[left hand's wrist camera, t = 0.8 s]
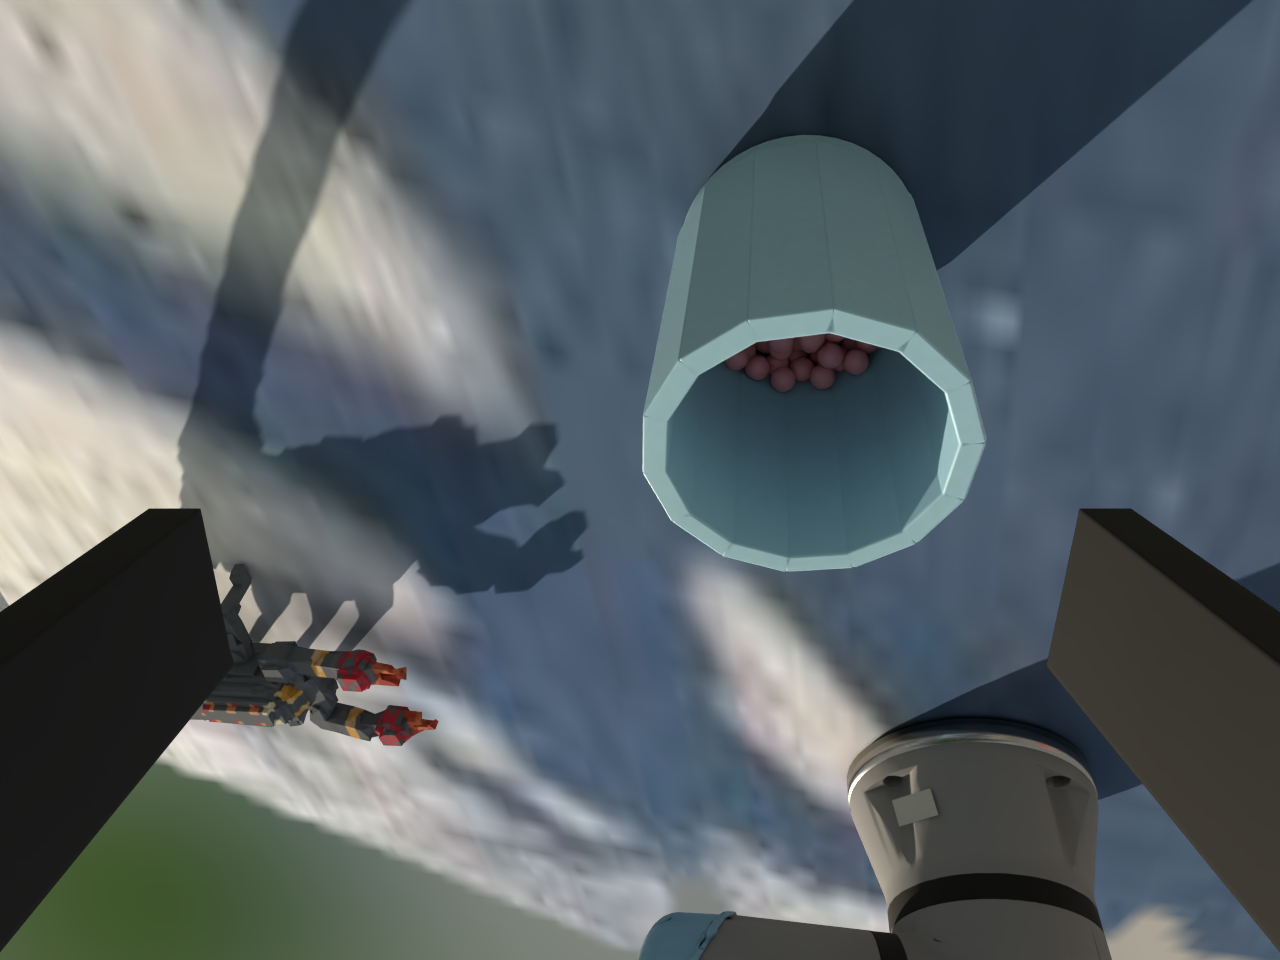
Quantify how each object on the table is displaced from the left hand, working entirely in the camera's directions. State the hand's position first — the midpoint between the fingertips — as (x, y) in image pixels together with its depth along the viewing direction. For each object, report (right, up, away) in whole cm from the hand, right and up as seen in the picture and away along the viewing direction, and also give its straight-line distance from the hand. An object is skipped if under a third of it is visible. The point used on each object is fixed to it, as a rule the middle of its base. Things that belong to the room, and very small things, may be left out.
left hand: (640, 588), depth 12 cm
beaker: (+6, +10, +19) cm, 23 cm away
